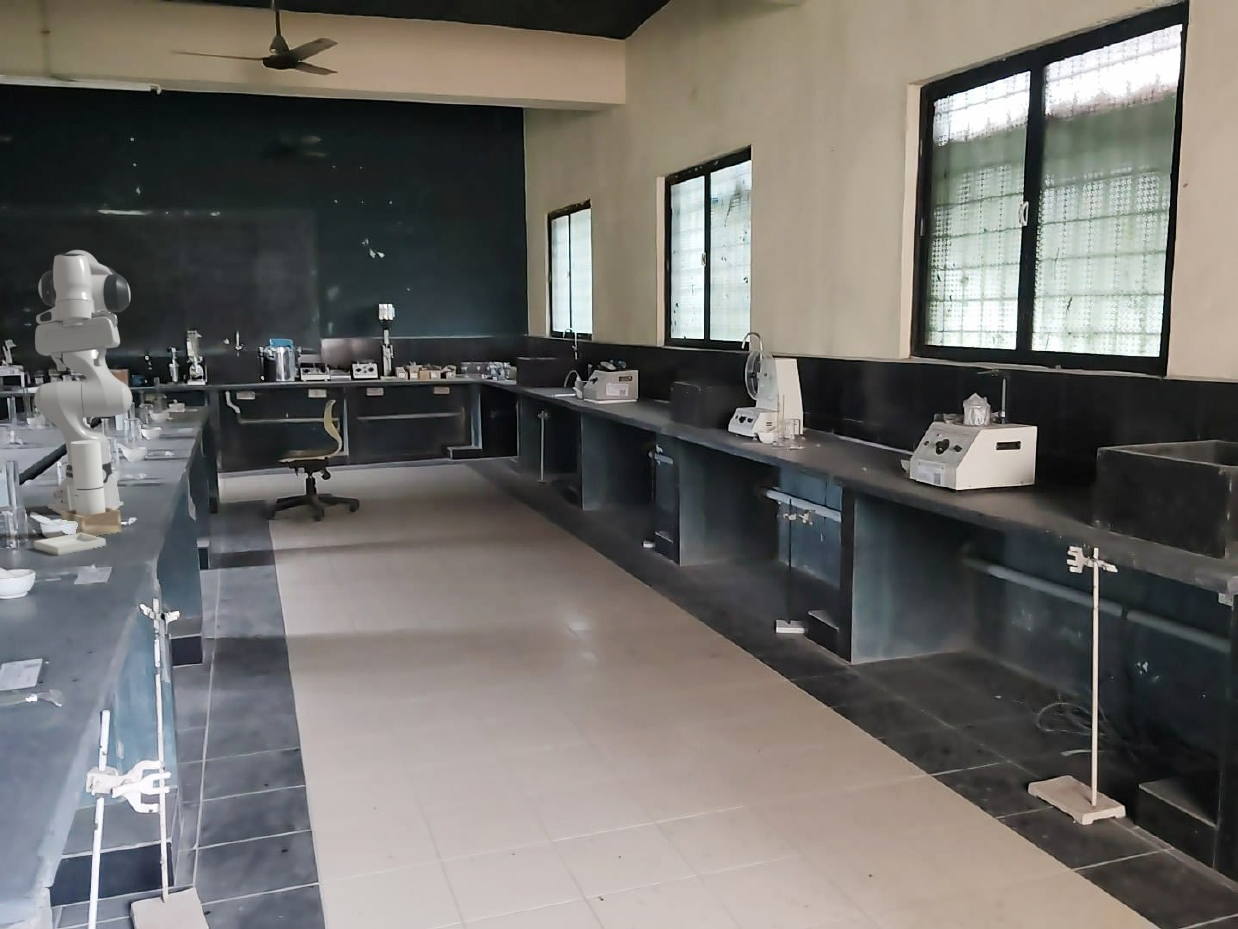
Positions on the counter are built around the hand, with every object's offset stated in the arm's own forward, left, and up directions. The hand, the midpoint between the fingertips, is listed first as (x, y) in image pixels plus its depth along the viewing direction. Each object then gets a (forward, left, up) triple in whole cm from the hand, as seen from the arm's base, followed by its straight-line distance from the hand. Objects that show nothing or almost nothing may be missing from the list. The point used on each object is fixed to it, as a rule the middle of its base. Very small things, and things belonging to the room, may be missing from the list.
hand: (80, 368), depth 258 cm
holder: (-12, +6, -46) cm, 47 cm away
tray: (0, -6, -46) cm, 46 cm away
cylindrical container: (-12, +6, -46) cm, 48 cm away
